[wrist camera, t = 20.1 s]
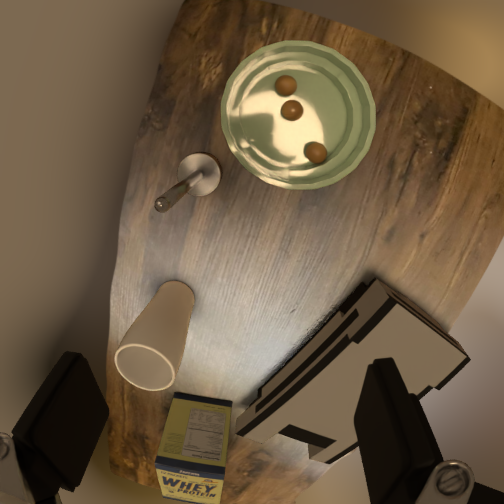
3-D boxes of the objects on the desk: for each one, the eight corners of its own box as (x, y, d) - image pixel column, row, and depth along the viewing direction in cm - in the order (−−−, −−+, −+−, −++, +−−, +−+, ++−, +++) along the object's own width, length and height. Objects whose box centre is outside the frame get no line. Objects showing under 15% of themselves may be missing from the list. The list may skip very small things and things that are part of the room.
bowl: (225, 55, 31) (218, 42, 26) (356, 57, 30) (373, 46, 25) (230, 181, 37) (224, 191, 31) (358, 180, 36) (373, 190, 31)
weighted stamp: (205, 143, 35) (164, 157, 21) (231, 176, 37) (208, 213, 22) (172, 169, 37) (115, 201, 22) (198, 201, 38) (158, 252, 23)
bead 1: (284, 67, 30) (284, 81, 29) (301, 77, 31) (302, 92, 30) (270, 79, 32) (270, 93, 31) (287, 88, 33) (287, 103, 32)
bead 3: (313, 140, 35) (303, 140, 33) (332, 144, 33) (323, 145, 32) (309, 160, 36) (300, 161, 34) (328, 165, 34) (319, 166, 33)
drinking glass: (145, 284, 43) (101, 352, 29) (185, 266, 41) (150, 335, 28) (169, 322, 45) (138, 396, 31) (209, 307, 44) (188, 384, 30)
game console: (238, 402, 51) (234, 439, 44) (368, 266, 41) (389, 297, 33) (325, 436, 55) (330, 469, 48) (449, 329, 44) (470, 359, 37)
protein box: (176, 437, 57) (162, 498, 43) (173, 390, 51) (152, 462, 37) (226, 444, 57) (219, 508, 43) (233, 400, 51) (225, 475, 37)
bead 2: (297, 107, 30) (303, 124, 32) (302, 94, 31) (307, 112, 33) (276, 108, 31) (282, 126, 33) (281, 96, 32) (287, 113, 34)
